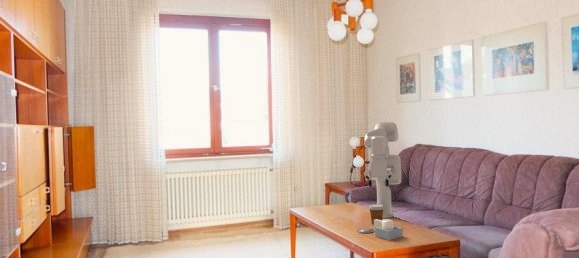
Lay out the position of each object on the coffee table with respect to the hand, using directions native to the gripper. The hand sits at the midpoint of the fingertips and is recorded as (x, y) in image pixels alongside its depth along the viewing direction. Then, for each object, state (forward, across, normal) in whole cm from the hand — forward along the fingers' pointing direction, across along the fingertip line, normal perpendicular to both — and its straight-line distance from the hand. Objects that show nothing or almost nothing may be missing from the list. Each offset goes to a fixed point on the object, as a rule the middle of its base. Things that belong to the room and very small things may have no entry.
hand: (378, 186), depth 256 cm
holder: (+28, -4, +6) cm, 29 cm away
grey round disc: (+28, +7, -7) cm, 30 cm away
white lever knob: (+28, -2, +3) cm, 28 cm away
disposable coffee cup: (+27, -4, -24) cm, 36 cm away
